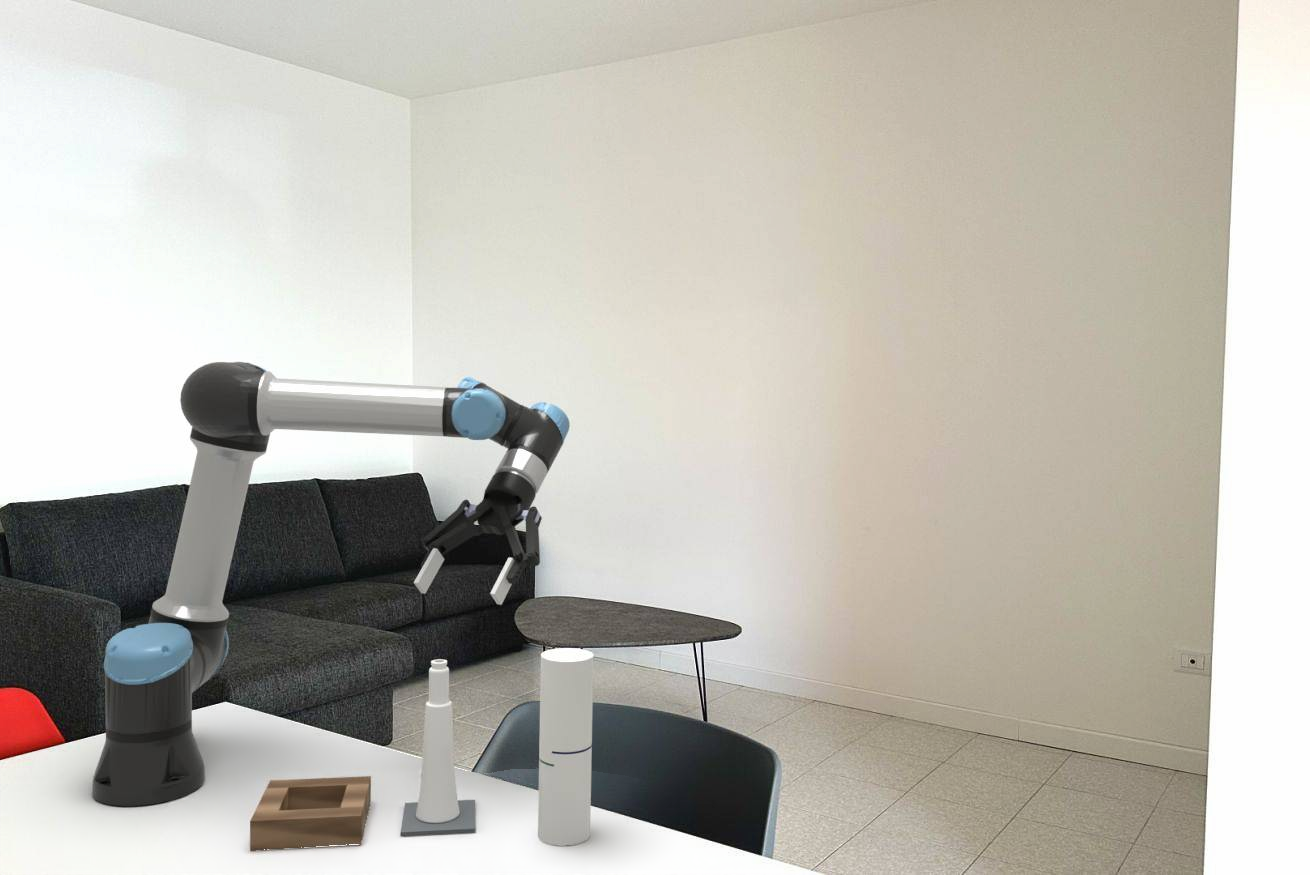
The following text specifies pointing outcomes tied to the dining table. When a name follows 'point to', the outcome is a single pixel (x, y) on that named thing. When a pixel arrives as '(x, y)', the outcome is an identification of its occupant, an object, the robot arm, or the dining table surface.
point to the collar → (311, 813)
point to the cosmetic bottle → (438, 752)
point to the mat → (455, 826)
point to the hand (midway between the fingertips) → (456, 593)
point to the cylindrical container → (565, 746)
